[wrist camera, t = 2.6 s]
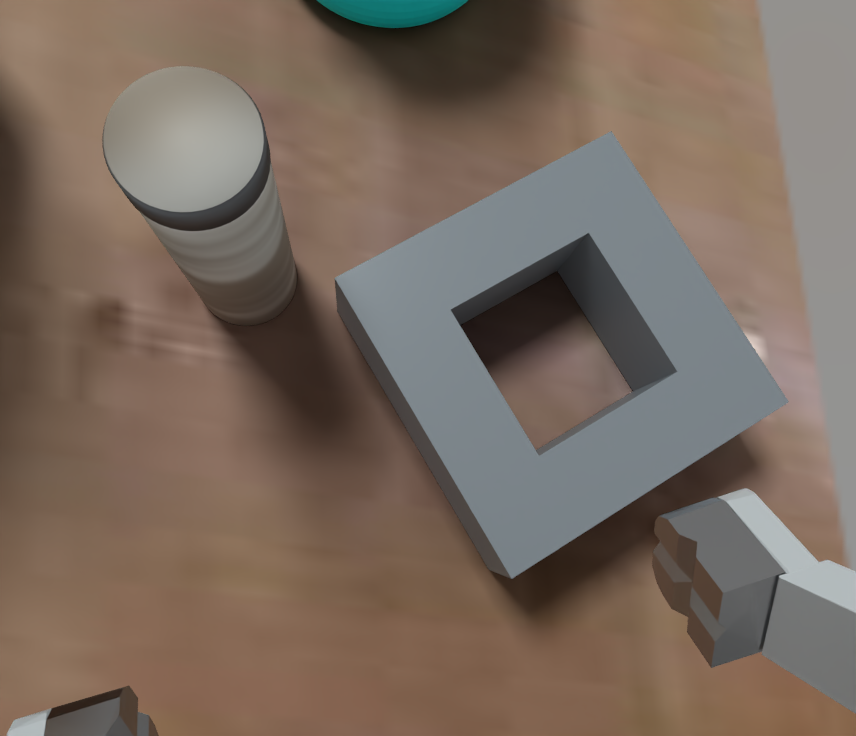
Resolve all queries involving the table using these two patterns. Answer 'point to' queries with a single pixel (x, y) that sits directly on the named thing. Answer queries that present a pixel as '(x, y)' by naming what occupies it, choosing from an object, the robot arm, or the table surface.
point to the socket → (612, 321)
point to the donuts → (392, 11)
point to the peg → (205, 187)
